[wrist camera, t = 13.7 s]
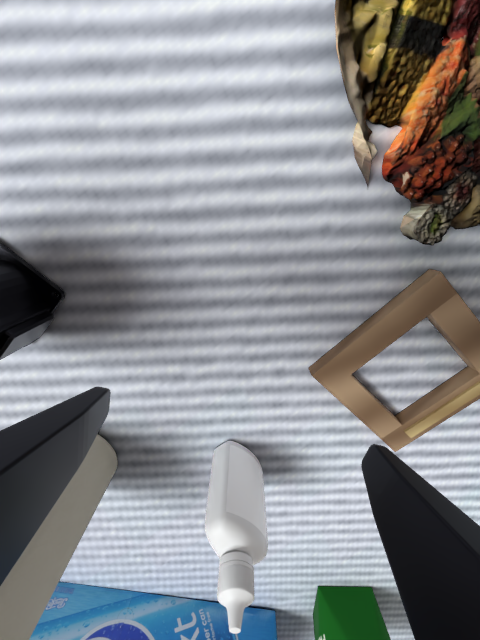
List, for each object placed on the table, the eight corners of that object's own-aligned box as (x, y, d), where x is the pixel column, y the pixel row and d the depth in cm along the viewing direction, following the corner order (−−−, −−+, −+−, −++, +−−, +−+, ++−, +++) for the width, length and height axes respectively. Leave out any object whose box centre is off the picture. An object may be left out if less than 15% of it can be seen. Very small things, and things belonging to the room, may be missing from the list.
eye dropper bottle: (254, 434, 26) (262, 601, 14) (264, 475, 27) (278, 650, 16) (211, 440, 26) (186, 608, 15) (224, 480, 28) (210, 655, 17)
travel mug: (126, 481, 28) (-51, 872, 11) (54, 482, 28) (-227, 868, 11) (109, 422, 25) (-162, 827, 8) (29, 424, 25) (-392, 823, 9)
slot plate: (308, 367, 23) (312, 376, 21) (429, 268, 20) (442, 272, 18) (388, 441, 26) (396, 453, 24) (505, 365, 22) (521, 374, 21)
